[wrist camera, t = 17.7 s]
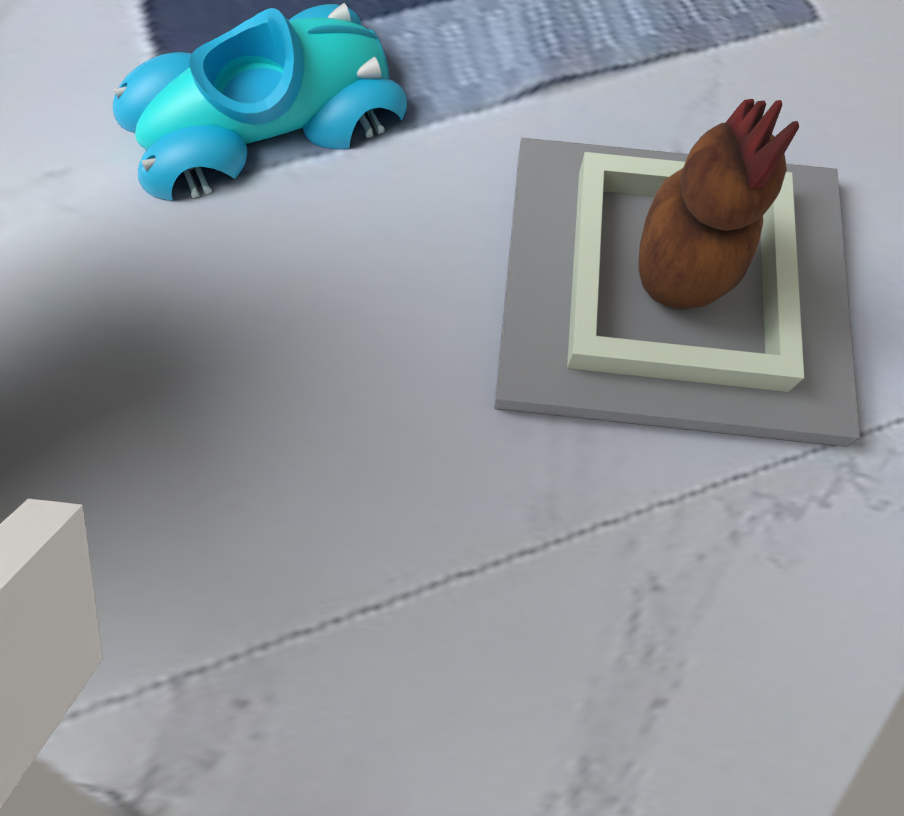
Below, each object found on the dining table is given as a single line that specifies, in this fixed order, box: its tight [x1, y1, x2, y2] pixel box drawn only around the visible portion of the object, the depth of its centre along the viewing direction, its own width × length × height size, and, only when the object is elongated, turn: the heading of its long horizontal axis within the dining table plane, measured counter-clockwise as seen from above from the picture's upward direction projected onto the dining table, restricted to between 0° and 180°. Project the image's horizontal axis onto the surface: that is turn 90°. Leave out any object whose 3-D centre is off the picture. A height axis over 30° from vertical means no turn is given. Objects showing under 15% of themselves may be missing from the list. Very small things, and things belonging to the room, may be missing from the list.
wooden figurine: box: [639, 99, 799, 310], centre depth 38 cm, size 7×6×15 cm
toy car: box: [113, 3, 407, 201], centre depth 48 cm, size 11×18×7 cm, turn 114°
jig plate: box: [495, 138, 860, 446], centre depth 45 cm, size 20×18×4 cm
